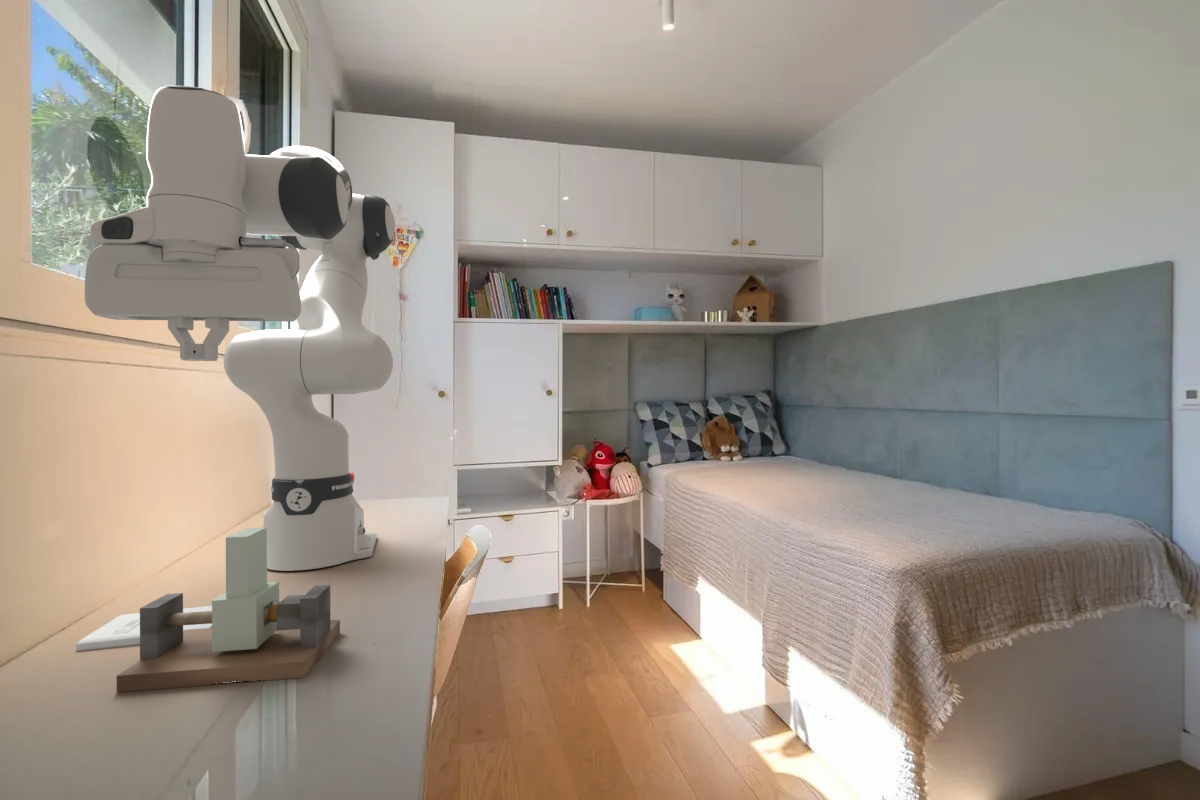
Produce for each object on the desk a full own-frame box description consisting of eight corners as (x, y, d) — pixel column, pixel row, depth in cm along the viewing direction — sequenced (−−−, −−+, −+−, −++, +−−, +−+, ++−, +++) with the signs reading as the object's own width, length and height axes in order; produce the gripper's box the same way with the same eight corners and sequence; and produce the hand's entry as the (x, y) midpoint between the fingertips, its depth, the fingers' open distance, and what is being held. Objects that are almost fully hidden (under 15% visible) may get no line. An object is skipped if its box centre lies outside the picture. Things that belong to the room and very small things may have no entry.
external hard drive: (209, 642, 60) (75, 656, 57) (238, 614, 68) (122, 625, 65) (209, 627, 60) (75, 641, 57) (238, 601, 68) (122, 612, 65)
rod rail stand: (185, 643, 58) (185, 584, 58) (339, 632, 61) (339, 575, 61) (116, 692, 48) (116, 620, 48) (304, 677, 51) (303, 609, 51)
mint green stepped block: (239, 630, 57) (238, 527, 57) (279, 627, 57) (278, 525, 57) (212, 651, 52) (211, 539, 52) (256, 648, 52) (256, 537, 53)
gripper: (310, 247, 64) (310, 362, 63) (118, 241, 61) (119, 362, 60) (286, 230, 57) (287, 358, 57) (72, 223, 54) (72, 358, 54)
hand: (199, 360), depth 59 cm, fingers closed
